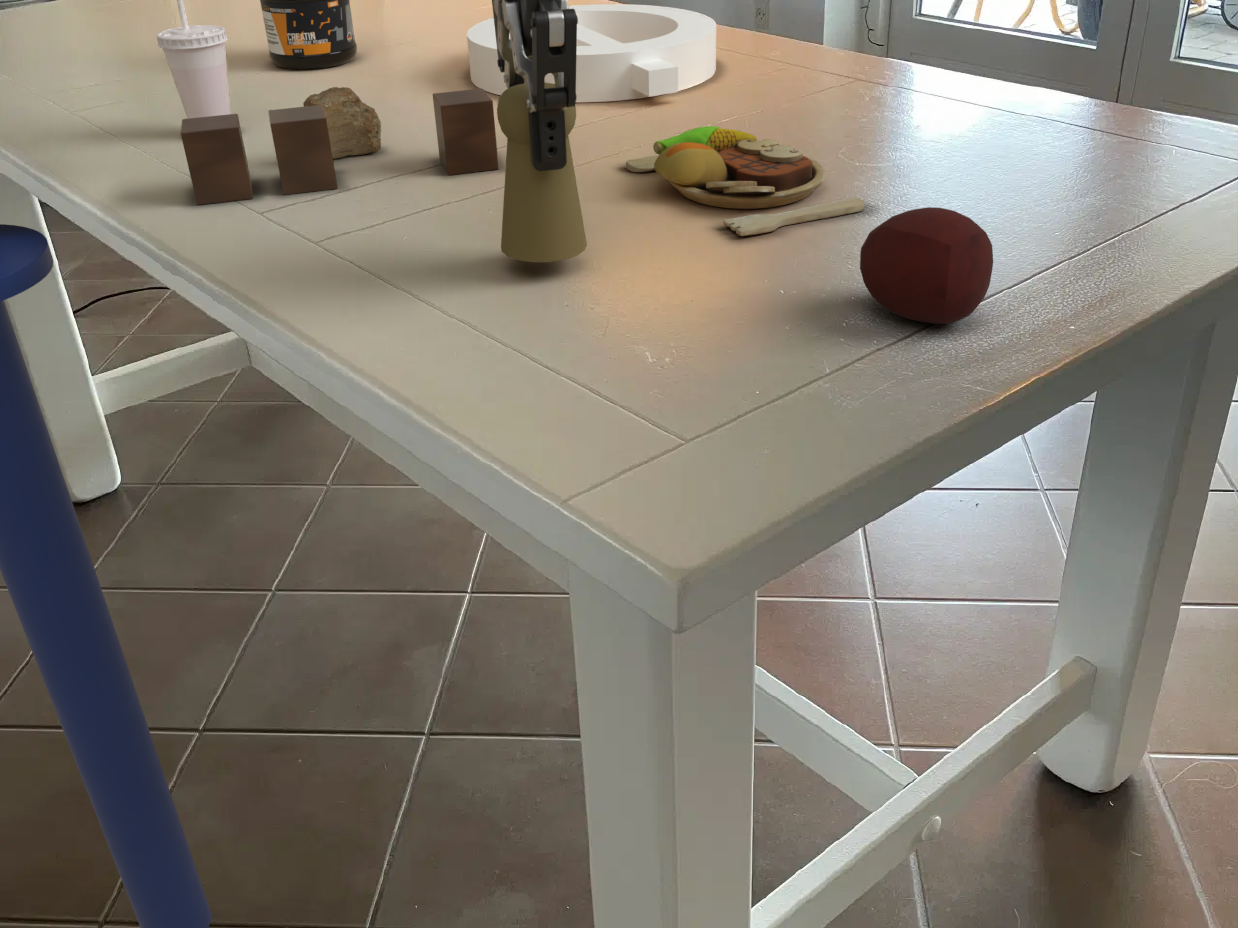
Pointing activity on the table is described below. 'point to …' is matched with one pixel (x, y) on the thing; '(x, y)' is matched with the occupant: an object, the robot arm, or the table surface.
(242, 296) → the table surface
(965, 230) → the potato
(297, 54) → the supplement container
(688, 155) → the toy food set
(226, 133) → the block
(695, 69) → the white circle with bar
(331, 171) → the block
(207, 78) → the smoothie
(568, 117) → the olive round-topped cone
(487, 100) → the block
